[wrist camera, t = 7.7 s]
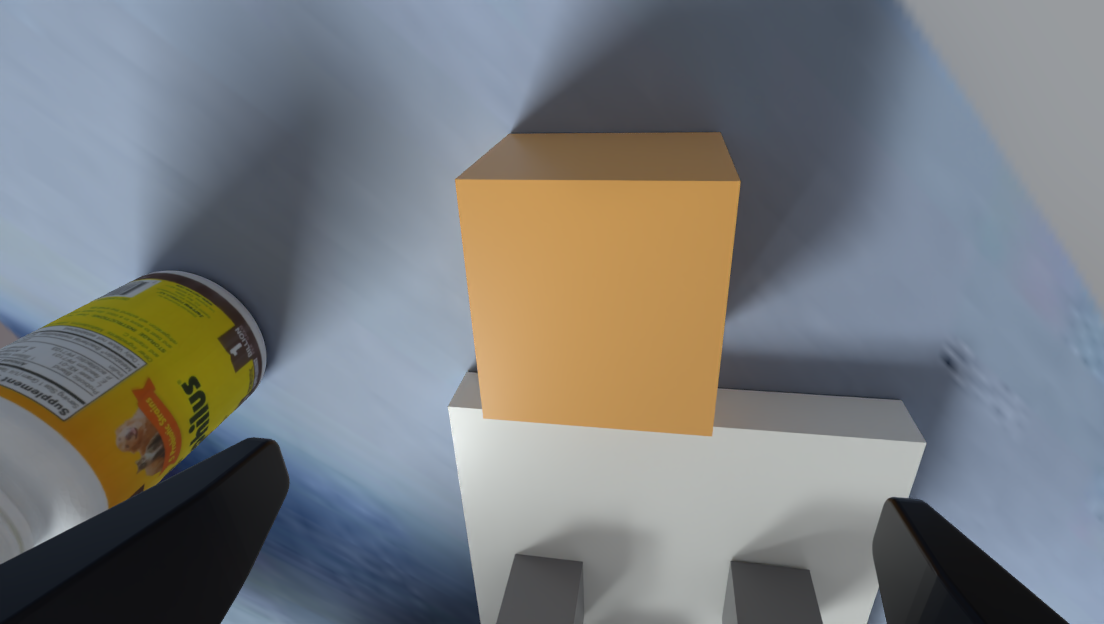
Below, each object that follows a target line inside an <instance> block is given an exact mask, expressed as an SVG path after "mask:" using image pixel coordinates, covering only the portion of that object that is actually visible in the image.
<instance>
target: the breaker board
mask: <svg viewBox="0 0 1104 624" xmlns="http://www.w3.org/2000/svg"><path fill="white" fill-rule="evenodd" d="M448 410H449V417H450V424H451V430H452V437H453V443H454V450H455V457H456V463H457V470H458V477H459V483H460V490H461V496H462V503H463V510H464V516H465V523H466V529H467V536H468V543H469V549H470V556H471V562H472V569H473V576H474V582H475V589H476V595H477V602H478V609H479V615H480V622H481V624H722V614H723V607H724V601H725V594H726V587H727V580H728V574H729V567H730V561H736V562H745V563H754V564H763V565H772V566H781V567H789V568H798V569H807V570H810V574H811V578H812V582H813V586H814V590H815V594H816V598H817V602H818V606H819V610H820V614H821V618H822V622H823V624H867V621H868V618H869V615H870V612H871V609H872V606H873V603H874V600H875V597H876V594H877V591H878V588H879V584H878V579H877V575H876V570H875V565H874V560H873V555H872V541H873V537H874V534H875V530H876V527H877V524H878V521H879V517H880V514H881V511H882V508H883V505H884V503H885V501H886V500H887V499H888V498H890V497H901V498H909V495H910V492H911V489H912V486H913V482H914V479H915V476H916V473H917V470H918V467H919V464H920V461H921V458H922V455H923V452H924V449H925V446H926V441H925V439H924V438H923V436H922V434H921V433H920V431H919V429H918V427H917V426H916V424H915V422H914V421H913V419H912V417H911V416H910V414H909V412H908V410H907V409H906V407H905V405H904V404H903V402H902V400H889V399H874V398H859V397H843V396H828V395H812V394H797V393H782V392H766V391H751V390H735V389H720V388H718V389H717V397H716V406H715V415H714V424H713V433H712V437H711V436H699V435H686V434H673V433H660V432H648V431H635V430H622V429H610V428H597V427H584V426H571V425H559V424H546V423H533V422H521V421H508V420H495V419H483V412H482V404H481V395H480V387H479V378H478V373H474V372H466V374H465V376H464V378H463V380H462V381H461V383H460V385H459V387H458V389H457V391H456V393H455V394H454V396H453V398H452V400H451V402H450V404H449V406H448Z"/></svg>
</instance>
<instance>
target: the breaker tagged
mask: <svg viewBox="0 0 1104 624" xmlns="http://www.w3.org/2000/svg"><path fill="white" fill-rule="evenodd" d="M722 624H823V622H822V618H821V614H820V610H819V606H818V602H817V598H816V594H815V590H814V586H813V582H812V578H811V574H810V570H807V569H798V568H789V567H781V566H772V565H763V564H754V563H745V562H736V561H730V567H729V574H728V580H727V587H726V594H725V601H724V607H723V614H722Z"/></svg>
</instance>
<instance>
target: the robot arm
mask: <svg viewBox="0 0 1104 624" xmlns="http://www.w3.org/2000/svg"><path fill="white" fill-rule="evenodd" d="M289 483H290V482H289V475H288V472H287V469H286V465H285V462H284V459H283V456H282V453H281V450H280V447H279V445H278V443H277V442H276V441H275V440H272V439H265V438H247V439H245V440H243V441H241V442H239V443H237V444H235V445H233V446H231V447H229V448H227V449H225V450H223V451H221V452H219V453H217V454H215V455H213V456H211V457H210V458H208V459H206V460H204V461H202V462H200V463H198V464H196V465H194V466H192V467H190V468H188V469H186V470H184V471H182V472H180V473H178V474H176V475H174V476H172V477H170V478H168V479H166V480H164V481H162V482H161V483H159V484H157V485H155V486H153V487H151V488H149V489H147V490H145V491H143V492H141V493H139V494H137V495H135V496H133V497H131V498H129V499H127V500H125V501H123V502H121V503H119V504H117V505H115V506H113V507H111V508H110V509H108V510H106V511H104V512H102V513H100V514H98V515H96V516H94V517H92V518H90V519H88V520H86V521H84V522H82V523H80V524H78V525H76V526H74V527H72V528H70V529H68V530H66V531H64V532H62V533H61V534H59V535H57V536H55V537H53V538H51V539H49V540H47V541H45V542H43V543H41V544H39V545H37V546H35V547H33V548H31V549H29V550H27V551H25V552H23V553H21V554H19V555H17V556H15V557H13V558H12V559H10V560H8V561H6V562H4V563H2V564H0V624H221V622H222V620H223V619H224V617H225V615H226V614H227V612H228V610H229V608H230V607H231V605H232V603H233V602H234V600H235V598H236V597H237V595H238V593H239V591H240V590H241V588H242V586H243V584H244V582H245V580H246V578H247V576H248V575H249V573H250V571H251V569H252V567H253V565H254V563H255V560H256V558H257V556H258V554H259V552H260V550H261V548H262V546H263V544H264V541H265V539H266V537H267V535H268V533H269V531H270V529H271V527H272V525H273V522H274V520H275V518H276V516H277V514H278V512H279V510H280V508H281V506H282V504H283V501H284V499H285V497H286V495H287V492H288V489H289ZM872 555H873V560H874V565H875V570H876V575H877V579H878V584H879V589H880V593H881V598H882V603H883V607H884V612H885V617H886V621H887V624H1069V623H1068V622H1067V621H1066V620H1064V619H1063V618H1062V617H1061V616H1060V615H1058V614H1057V613H1056V612H1055V611H1054V610H1053V609H1051V608H1050V607H1049V606H1048V605H1047V604H1045V603H1044V602H1043V601H1042V600H1041V599H1039V598H1038V597H1037V596H1036V595H1035V594H1034V593H1032V592H1031V591H1030V590H1029V589H1028V588H1026V587H1025V586H1024V585H1023V584H1022V583H1021V582H1019V581H1018V580H1017V579H1016V578H1015V577H1013V576H1012V575H1011V574H1010V573H1009V572H1008V571H1006V570H1005V569H1004V568H1003V567H1002V566H1000V565H999V564H998V563H997V562H996V561H995V560H993V559H992V558H991V557H990V556H989V555H987V554H986V553H985V552H984V551H983V550H982V549H980V548H979V547H978V546H977V545H976V544H974V543H973V542H972V541H971V540H970V539H969V538H967V537H966V536H965V535H964V534H963V533H961V532H960V531H959V530H958V529H957V528H956V527H954V526H953V525H952V524H951V523H950V522H948V521H947V520H946V519H945V518H944V517H942V516H941V515H940V514H939V513H938V512H937V511H935V510H934V509H933V508H932V507H931V506H929V505H928V504H927V503H925V502H924V501H922V500H919V499H911V498H901V497H890V498H888V499H887V500H886V501H885V503H884V505H883V508H882V511H881V514H880V517H879V521H878V524H877V527H876V530H875V534H874V537H873V541H872Z"/></svg>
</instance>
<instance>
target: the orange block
mask: <svg viewBox="0 0 1104 624" xmlns="http://www.w3.org/2000/svg"><path fill="white" fill-rule="evenodd" d="M455 183H456V192H457V200H458V209H459V217H460V226H461V234H462V243H463V251H464V260H465V268H466V277H467V285H468V294H469V302H470V311H471V319H472V328H473V336H474V344H475V353H476V361H477V370H478V378H479V387H480V395H481V404H482V412H483V419H495V420H508V421H521V422H533V423H546V424H559V425H571V426H584V427H597V428H610V429H622V430H635V431H648V432H660V433H673V434H686V435H699V436H711V437H712V433H713V424H714V415H715V406H716V397H717V389H718V380H719V371H720V362H721V353H722V344H723V335H724V326H725V317H726V308H727V299H728V290H729V281H730V272H731V263H732V254H733V245H734V236H735V227H736V218H737V209H738V201H739V192H740V183H741V181H740V178H739V176H738V174H737V171H736V169H735V166H734V164H733V161H732V159H731V157H730V154H729V152H728V149H727V147H726V144H725V142H724V140H723V137H722V135H721V132H672V133H535V134H508V135H507V136H506V137H505V138H504V139H502V140H501V141H500V142H499V143H498V144H496V145H495V146H494V147H493V148H492V149H491V150H489V151H488V152H487V153H486V154H485V155H483V156H482V157H481V158H480V159H479V160H477V161H476V162H475V163H474V164H473V165H472V166H470V167H469V168H468V169H467V170H466V171H464V172H463V173H462V174H461V175H460V176H458V177H457V178H456V179H455Z"/></svg>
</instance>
